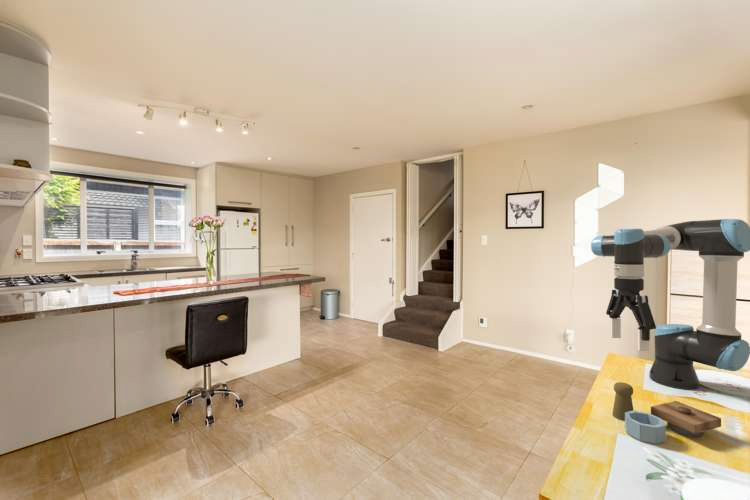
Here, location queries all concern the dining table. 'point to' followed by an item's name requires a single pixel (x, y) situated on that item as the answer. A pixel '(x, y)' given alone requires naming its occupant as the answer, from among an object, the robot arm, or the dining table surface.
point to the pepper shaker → (622, 400)
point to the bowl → (645, 427)
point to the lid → (686, 417)
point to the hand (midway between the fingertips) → (628, 343)
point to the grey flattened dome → (683, 431)
